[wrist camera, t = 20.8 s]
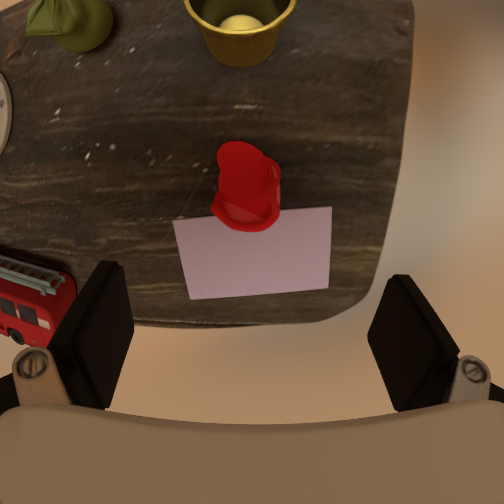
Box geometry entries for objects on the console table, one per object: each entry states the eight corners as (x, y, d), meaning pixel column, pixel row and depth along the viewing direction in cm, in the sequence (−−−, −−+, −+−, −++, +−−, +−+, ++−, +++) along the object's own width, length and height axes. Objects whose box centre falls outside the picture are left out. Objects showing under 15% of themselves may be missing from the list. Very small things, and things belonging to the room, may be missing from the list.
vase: (284, 59, 23) (324, 31, 11) (216, 76, 24) (190, 61, 12) (265, 1, 20) (286, -70, 8) (198, 18, 21) (158, -40, 9)
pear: (128, 5, 20) (80, -24, 11) (114, 54, 22) (58, 45, 13) (80, 6, 19) (22, -14, 10) (67, 53, 21) (3, 50, 12)
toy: (-26, 285, 34) (-37, 230, 30) (83, 322, 38) (78, 262, 33) (-52, 314, 27) (-70, 256, 23) (61, 364, 30) (48, 301, 26)
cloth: (190, 298, 36) (190, 299, 35) (173, 219, 31) (172, 220, 30) (327, 286, 35) (328, 288, 35) (331, 205, 30) (332, 206, 30)
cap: (217, 247, 28) (215, 199, 31) (283, 240, 28) (273, 193, 31) (203, 182, 21) (204, 134, 25) (288, 174, 21) (275, 128, 25)
